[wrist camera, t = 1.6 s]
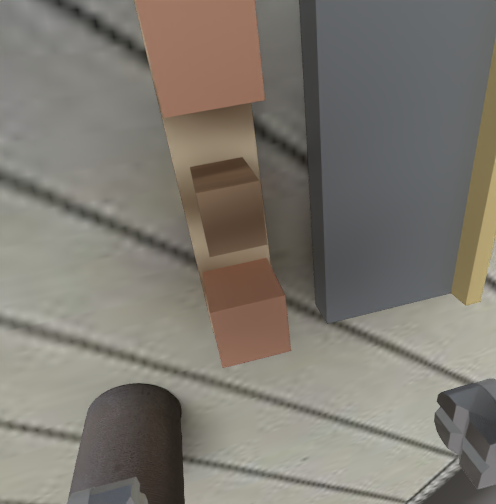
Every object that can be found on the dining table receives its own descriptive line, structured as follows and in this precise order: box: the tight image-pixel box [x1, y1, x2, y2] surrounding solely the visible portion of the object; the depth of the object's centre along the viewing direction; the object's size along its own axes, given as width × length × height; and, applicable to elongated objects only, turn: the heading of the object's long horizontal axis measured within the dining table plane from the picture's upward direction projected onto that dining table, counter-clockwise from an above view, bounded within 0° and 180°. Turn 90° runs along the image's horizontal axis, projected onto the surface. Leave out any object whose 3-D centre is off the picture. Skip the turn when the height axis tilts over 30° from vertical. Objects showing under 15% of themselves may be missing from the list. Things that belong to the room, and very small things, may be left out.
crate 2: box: [202, 258, 291, 368], centre depth 28 cm, size 5×5×5 cm
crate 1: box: [136, 0, 265, 118], centre depth 19 cm, size 5×5×5 cm
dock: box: [299, 0, 496, 324], centre depth 28 cm, size 30×14×5 cm, turn 8°
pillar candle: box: [68, 384, 185, 504], centre depth 33 cm, size 10×10×15 cm
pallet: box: [134, 0, 271, 333], centre depth 25 cm, size 24×6×9 cm, turn 8°
